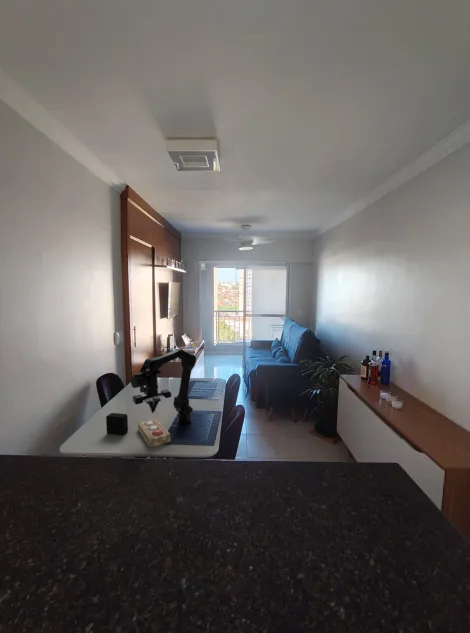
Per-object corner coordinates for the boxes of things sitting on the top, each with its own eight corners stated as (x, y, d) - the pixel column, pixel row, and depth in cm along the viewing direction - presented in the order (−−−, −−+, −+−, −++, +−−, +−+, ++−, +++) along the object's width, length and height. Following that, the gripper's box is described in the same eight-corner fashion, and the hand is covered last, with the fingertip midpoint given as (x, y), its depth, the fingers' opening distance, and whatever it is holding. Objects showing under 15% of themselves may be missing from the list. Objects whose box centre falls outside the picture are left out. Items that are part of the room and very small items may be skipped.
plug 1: (152, 427, 163) (151, 420, 162) (154, 430, 159) (154, 423, 159) (144, 429, 160) (144, 422, 160) (147, 432, 157) (146, 425, 157)
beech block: (156, 425, 166) (155, 418, 166) (170, 441, 148) (170, 434, 148) (138, 430, 161) (137, 423, 161) (150, 447, 143) (150, 439, 142)
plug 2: (156, 432, 157) (155, 425, 157) (158, 435, 154) (158, 428, 154) (148, 434, 155) (148, 427, 155) (151, 437, 152) (150, 430, 151)
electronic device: (123, 435, 155) (123, 417, 154) (106, 434, 157) (105, 415, 156) (128, 432, 159) (127, 414, 158) (111, 430, 161) (110, 412, 160)
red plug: (160, 436, 152) (159, 428, 151) (162, 439, 148) (162, 431, 148) (152, 438, 150) (152, 430, 149) (155, 441, 146) (154, 433, 146)
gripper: (163, 376, 164) (164, 404, 165) (129, 382, 154) (130, 411, 155) (171, 381, 155) (172, 410, 156) (134, 388, 145) (136, 419, 146)
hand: (152, 412), depth 153 cm, fingers closed
